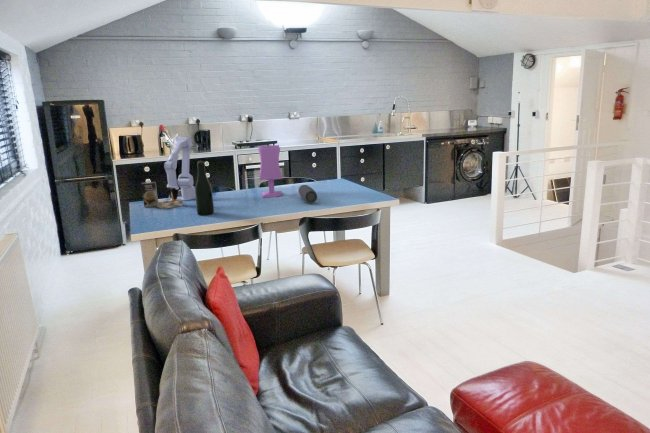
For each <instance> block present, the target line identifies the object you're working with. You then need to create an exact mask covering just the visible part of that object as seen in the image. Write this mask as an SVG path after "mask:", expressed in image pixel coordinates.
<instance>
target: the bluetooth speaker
mask: <svg viewBox="0 0 650 433" xmlns="http://www.w3.org/2000/svg"><path fill="white" fill-rule="evenodd" d="M298 195H299V196H300V197H301V198H302V199H303V200H304V201H305V202H306V203H308V204H313V203H315V202H316V201H317V200H318V194H317V192H316V190H315V189H314V188H312V187H311V186H309V185H307V184H301V185H300V186H299V187H298Z"/></svg>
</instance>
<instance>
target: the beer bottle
mask: <svg viewBox="0 0 650 433" xmlns="http://www.w3.org/2000/svg"><path fill="white" fill-rule="evenodd" d="M196 166H197V180H196V183H195V186H194V187H195V195H196V199H195V206H196V214H197V215H198V216H209V215H212V214H214V213H215V204H214V196H213V189H212V186H211V185H212V184H211V183H210V181H209V179H208V177H207V173H206V167H205V166H206V165H205V162H204V161H203V160H199V161H197V164H196Z"/></svg>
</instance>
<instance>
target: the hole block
mask: <svg viewBox="0 0 650 433" xmlns="http://www.w3.org/2000/svg"><path fill="white" fill-rule="evenodd" d="M183 201H184V200H181V199H178V198H177V201H175V202H172V199H168V200H163V201H158V202H157V206H156V207H157V208H159V209H162V210H166V209H170V208H175V207H181V206H184V204H183V203H184V202H183Z"/></svg>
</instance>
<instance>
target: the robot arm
mask: <svg viewBox="0 0 650 433" xmlns="http://www.w3.org/2000/svg"><path fill="white" fill-rule="evenodd" d="M174 145H175V146H174V148H173V152H170V155H169V156H168V159H167V161H165V162H164V163H163V167H164V168H163V169H164V170H165V173H166V178H167V184H166V188H167V189H166V190H167V191H168V193H169V196H170V198H171V199H172V196H171V192H172V195H173V199H178V194H179V192H180V191H181V197H180V198H179V200H181V201H184V202H185V201H190V200H196V195H195V187H196V186H194V177H193V175H192V174H191V173H190V162H191V161H190V159H191V156H190V155H191V150H192V140H191V137H190V136H187V137H186V136H185V137H179V136H176V137H175V139H174ZM181 151H182V154H181V155H182V156H181V173H180V174H179V175H178V178H177V173H176V169H177V164H178V161H179V158H180V156H179V154H180V152H181ZM171 188H173V189H171Z"/></svg>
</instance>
